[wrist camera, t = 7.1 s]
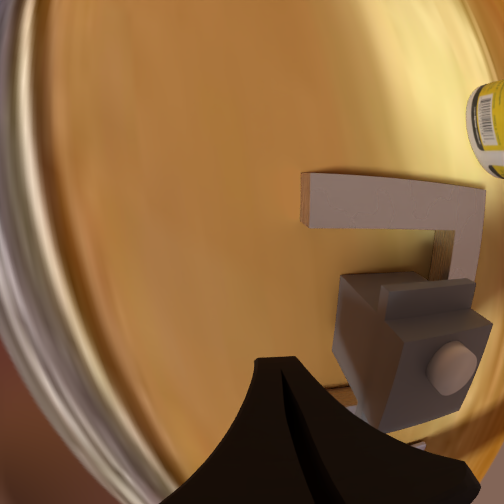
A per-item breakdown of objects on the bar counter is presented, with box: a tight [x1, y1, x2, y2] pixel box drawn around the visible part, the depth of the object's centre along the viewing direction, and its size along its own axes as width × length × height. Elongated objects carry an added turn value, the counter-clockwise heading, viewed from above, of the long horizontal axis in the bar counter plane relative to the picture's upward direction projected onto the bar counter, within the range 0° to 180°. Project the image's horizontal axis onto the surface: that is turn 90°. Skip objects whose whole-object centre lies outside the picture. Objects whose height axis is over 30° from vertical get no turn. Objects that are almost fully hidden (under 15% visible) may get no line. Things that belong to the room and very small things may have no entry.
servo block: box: [332, 271, 493, 434], centre depth 11 cm, size 6×4×7 cm, turn 0°
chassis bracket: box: [300, 173, 486, 414], centre depth 13 cm, size 13×9×2 cm
